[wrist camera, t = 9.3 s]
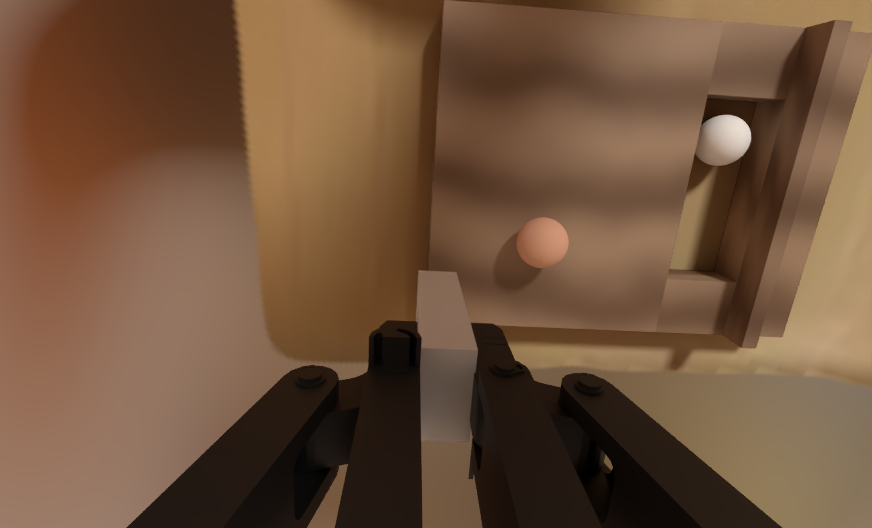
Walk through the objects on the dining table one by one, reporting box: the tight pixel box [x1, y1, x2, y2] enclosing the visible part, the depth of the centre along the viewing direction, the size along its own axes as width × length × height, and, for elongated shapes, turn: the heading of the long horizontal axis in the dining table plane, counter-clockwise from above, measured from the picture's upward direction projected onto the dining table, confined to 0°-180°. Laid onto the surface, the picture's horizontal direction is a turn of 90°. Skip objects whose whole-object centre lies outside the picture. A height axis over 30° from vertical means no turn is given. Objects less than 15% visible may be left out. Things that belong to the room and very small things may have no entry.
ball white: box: [695, 115, 751, 166], centre depth 29 cm, size 3×3×3 cm
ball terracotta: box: [516, 217, 569, 268], centre depth 28 cm, size 3×3×3 cm
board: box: [427, 0, 872, 348], centre depth 29 cm, size 20×26×4 cm
